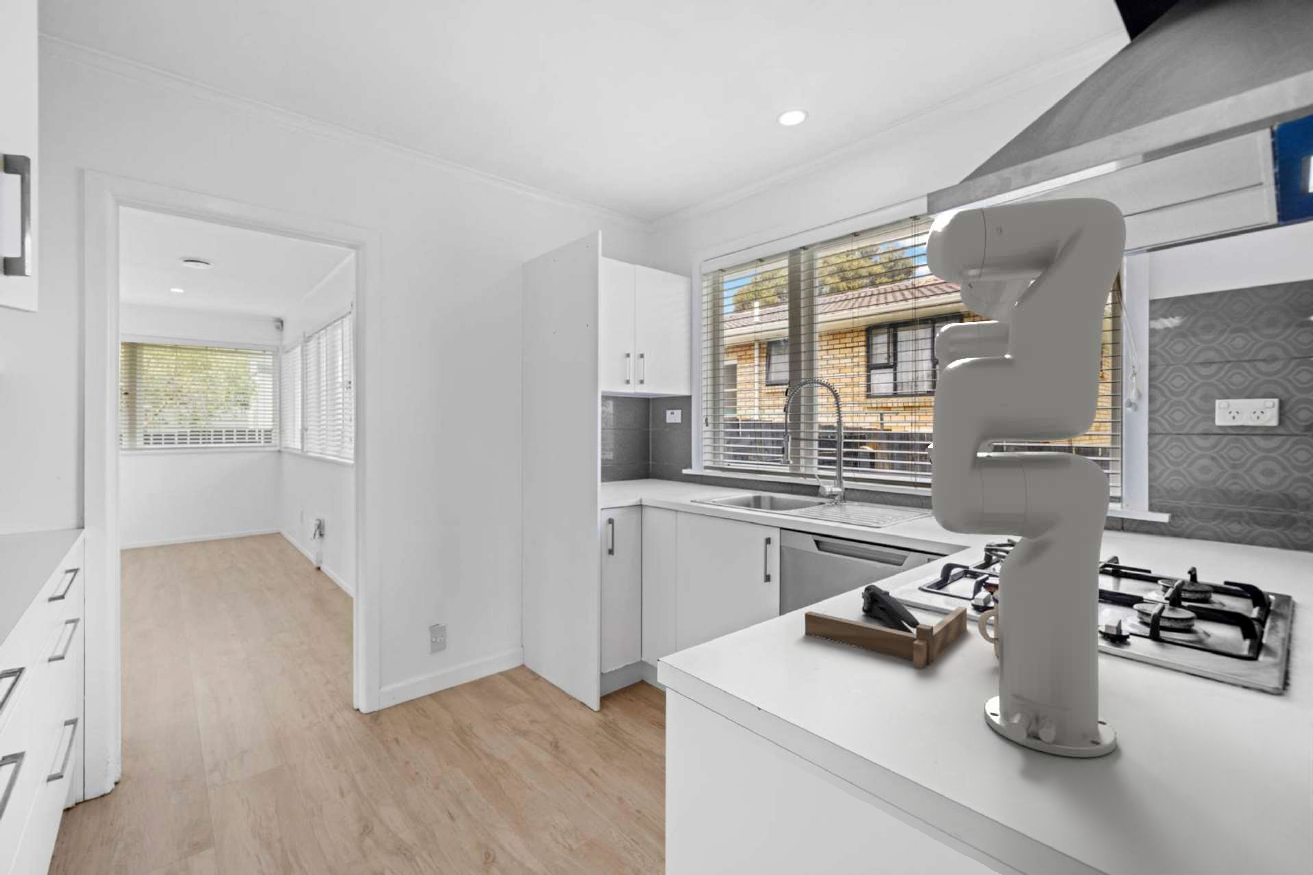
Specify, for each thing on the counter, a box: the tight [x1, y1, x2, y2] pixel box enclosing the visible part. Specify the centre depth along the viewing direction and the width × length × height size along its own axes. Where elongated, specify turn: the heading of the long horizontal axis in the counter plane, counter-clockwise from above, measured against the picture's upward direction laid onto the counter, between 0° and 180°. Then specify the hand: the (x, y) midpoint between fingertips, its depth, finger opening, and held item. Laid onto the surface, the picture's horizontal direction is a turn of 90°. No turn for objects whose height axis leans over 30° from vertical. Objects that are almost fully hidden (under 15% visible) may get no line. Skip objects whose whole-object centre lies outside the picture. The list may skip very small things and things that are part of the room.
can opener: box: [861, 584, 921, 634], centre depth 104 cm, size 18×7×6 cm, turn 1°
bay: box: [804, 606, 968, 670], centre depth 100 cm, size 22×20×5 cm
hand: (961, 491), depth 110 cm, fingers open, 9 cm apart
